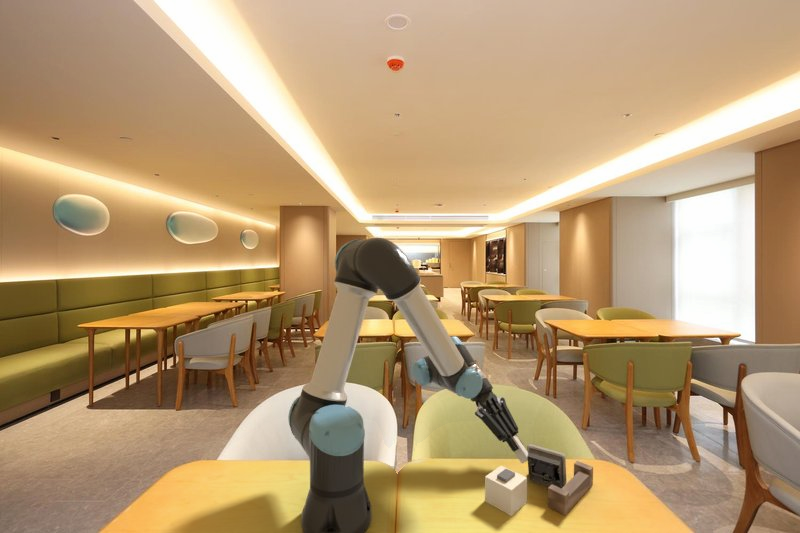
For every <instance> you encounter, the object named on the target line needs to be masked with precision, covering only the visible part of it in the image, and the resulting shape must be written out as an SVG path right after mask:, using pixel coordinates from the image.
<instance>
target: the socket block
mask: <svg viewBox="0 0 800 533" xmlns="http://www.w3.org/2000/svg"><path fill="white" fill-rule="evenodd" d="M484 477H485V478H484V502H485V503H487V504H488V505H489V504H490V505H491V506H493V507H495V508H497V509H498V510H500V511H502V512H503V513H505V514H506V515H509V516H510V517H512V516H513V515H515V513H517V512H518V511H519V510H520V509H521V508H522V507H523V506H524V505H525V504H527V502H528V478H527V476H524V475H522V474H520V473H518V472H516V471H513V470H511V469H509V468H507V467H505V466H504V465H499V466H498V467H497V468H495V469H494V470H493V471H491V472H489V473H488V474H487V475H485V476H484Z"/></svg>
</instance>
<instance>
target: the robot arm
mask: <svg viewBox="0 0 800 533" xmlns="http://www.w3.org/2000/svg"><path fill="white" fill-rule="evenodd" d="M334 267H335V270H336V275H335V278H334V281H333V283H334V286H335V287H336V290H337V293H336V296H335V299H334V303H333V304H332V305H333V306H332V310H331V313H330V316H329V320H328V323H327V326H326V328H325V331H324V332H325V333H324V337H323V339H322V342H321V346H320V349H319V354H318V357H317V358H316V359H317V360H316V363H315V367H314V369H313V372H312V373H313V374H312V376H311V380H310V381H309V382H307V383H306V384H305V385H303V386H302V389H301V392H300V395H299V396H298V397H296V398H295V399H294V400H293V402H292V403H291V406H290V408H289V412H288V424H289V428H290V430H291V431H290V432H291V434H292V435H293V437H294V438H295V440H296V441H297V442H298V443H299V444H300V445H301V447H302V450H304V452H305V454H306V455H307V456H308V459H309V490H308V494H307V496H306V500H305V504H304V507H302V508H303V509H302V511H301V530H302V533H366V532H367V531H368V529H369V528H370V525H371V523H372V505H371V501H370V498H369V495H368V492H367V489H366V486H365V483H364V480H365V476H364V475H365V474H364V470H365V467H364V466H365V463H364V461H365V458H364V457H365V435H366V433H365V426H364V419H363V417H362V415H361V413H360V412H359V411H358V410H357V409H355V408H353V407H351V406H346V405H347V402H348V401H347V400H348V395H347V393H346V392H345V386H346V382H347V379H348V375H349V372H350V368H351V365H352V361H353V358H354V354H355V351H356V346H357V343H358V340H359V336H360V332H361V330H362V326H363V322H364V319H365V316H366V312H367V309H368V305H369V302H370V300H371V298H374V297H375V296H377V294H378V291H379V290H380V292H382V293H383V295H384V296H385V298H386V299H387V300H388V301H391V302H394V304H395V305H396V307H397V309H398V311H399V312H400V313H401V315H402V317H403V319H404V320H405V321H406V323H407V325H408V327H409V328H410V329H411V331H412V332H413V334H414V335H415V337H416V339H417V340H418V341H419V342H418V343H420V345H421V346H422V348H423V349H424V352H425V353H426V354H427V355H426V356H423V357H420V358H419V359H417V360H416V361H413V363H412V365H411V371H412V372H411V373H412V377H413V379H414V380H415V382H416V383H417V384H418V385H419V386H422V387H425V386H429V385H430V384H432V383H433V384H435V385H437V386H438V387H440V388H443V389H446V390H447V391H450V392H452V393H453V394H455V395H457V396H458V397H462V398H464V399H470V401H471V402H475V405H476V407H477V410H476V411H475V412H474V415H475V417H478V419H480V420H481V421H482V422H483V423H484V425H485V426H486V427H487V428H488V429H489V430H490V432H491V433H492V434H493V435H494V436H495V438H496V439H497V440H498V441H499V442H502V443H507V445H508V446H509V448H510V449H511V452H513V453H514V454H515V455H516V457H517V459H518V461H519V462H520V463H521V464H524V463H526V462H528V458H527V456H528V451H527V448H526V447H525V446H524V444H523V442H522V441H521V439H520V438H519V436H518V435H517V434H519V427H518V424H517V423H516V421H515V419H514V417H513V415H512V413H511V411H510V409H509V407H508V405H507V401H506V399H505V398H504V397H503V396H502V397H501V398H499V397H498V396H497V395H496V394H495V393H494V392H493V389H494V387H493V385H492V383H490V380H489V379H488V378H486V377H485V374H484V372H483V371H482V370H481V368H480V367H479V365H478V364H477V362H476V360H475V359H474V358H473V356H472V354H471V353H470V352H469V351H468V348H467V347H466V345H464V343H463V341H462V340H461V339H460V338H459V337H458V336H450V334H449V332H448V330H447V328H446V327H445V325H444V324H443V321H441V320H442V319H440V317H439V314H438V313H437V312H436V310H435V309H434V307H433V305H432V303H431V301H429V299H428V297H427V295H426V293H425V292H424V290H423V288H422V286H421V282H422V279H421V278H422V277H420V275H419V273H418V272H417V269H416V268H415V266H414V265H413V263H412V262H411V261H410V259H409V258H408V257H407V255H406V254H405V253H404V251H403V250H402V249H401V248H400V247H399V246H398V245H397V244H396V243H394V242H393V241H391V240H389V239H386V238H383V237H373V238H364V239H363V238H358V239H353V240H350V241H348V242H346V243H344V244H343V245H342V246H341V247H339V249H338V251H337V253H336V255H335V258H334Z"/></svg>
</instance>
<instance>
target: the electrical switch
mask: <svg viewBox="0 0 800 533" xmlns="http://www.w3.org/2000/svg"><path fill="white" fill-rule="evenodd" d="M526 450H527V452H528V456H527V458H528V461H527V469H528V470H527V471H528V480H529V481H530V482H533V483H536V484H539V485H543V486H546V487H547V488H548V487H549V486H551V485H555V486H557V487H559V488H561V489H562V488H563V486H565V485H566V484H567V464H566V462H567V461H566V454H565V453H563V452H560V451H556V450H553V449H550V448H546V447H543V446H539V445H536V444H532V443H529V444H527V446H526ZM546 480H547V481H546Z"/></svg>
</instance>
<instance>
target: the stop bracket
mask: <svg viewBox="0 0 800 533" xmlns="http://www.w3.org/2000/svg"><path fill="white" fill-rule="evenodd" d="M593 485H594V467H593V466H591V465H589V464H587V463H585V462H583V461H582V462H581V461H579V460H576V461H575V462H574V463H573V477H571V478H570V479H569V480H568V481H567V482H566V484H565V485H563V486H562V487H561V488H559V487H557V486H555V485H551V486H549V487H548V486H547V507H548V508H549V509H550V510H552V511H555V512H557V513H559V514H561V515H563V516H566V515H567V514H568V513H569V512H570V511H571V509H573V507H574V506H575V505H576V504H577V503H578V502H579V501H580V499H581V498H582V497H583V496H584V495H585V494H586V493H587V492H588V491H589V489H590V488H591V487H592V486H593Z"/></svg>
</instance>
